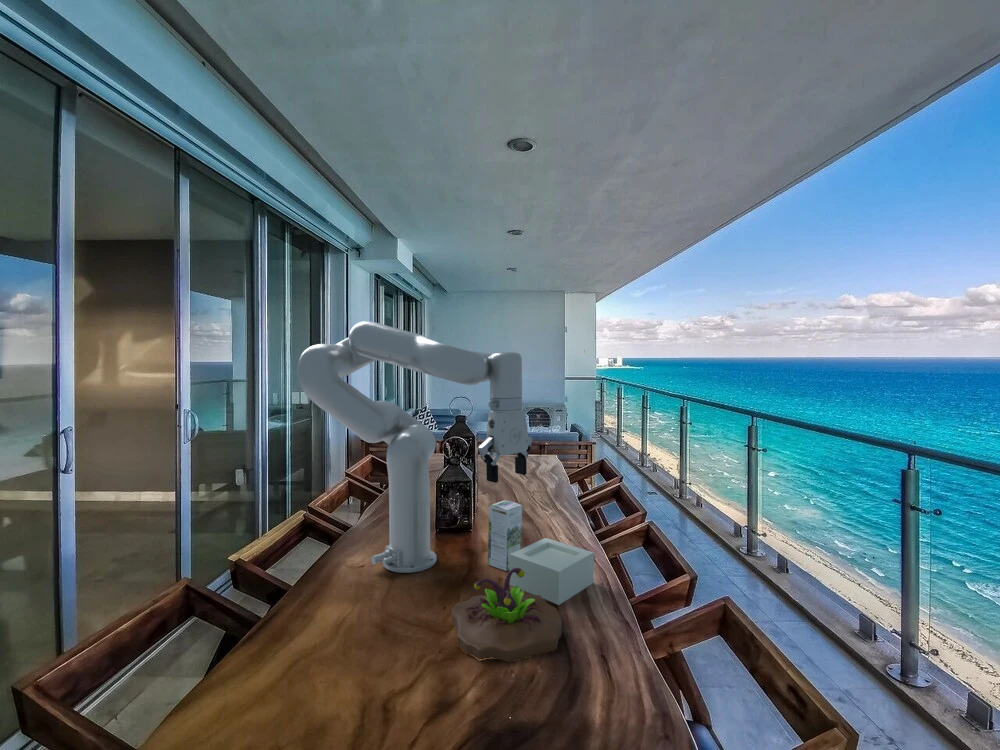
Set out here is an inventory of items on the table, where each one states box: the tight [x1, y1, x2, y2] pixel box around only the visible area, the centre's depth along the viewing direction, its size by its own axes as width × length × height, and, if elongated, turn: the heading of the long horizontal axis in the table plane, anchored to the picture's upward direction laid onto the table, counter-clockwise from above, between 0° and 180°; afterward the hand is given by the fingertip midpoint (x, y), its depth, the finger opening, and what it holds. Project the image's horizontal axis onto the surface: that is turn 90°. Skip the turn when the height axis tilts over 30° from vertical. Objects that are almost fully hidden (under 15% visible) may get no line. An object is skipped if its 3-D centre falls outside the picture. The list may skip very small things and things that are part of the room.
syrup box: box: [487, 499, 523, 572], centre depth 118 cm, size 6×6×14 cm
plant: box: [451, 568, 563, 662], centre depth 91 cm, size 20×20×11 cm
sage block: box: [508, 537, 595, 606], centre depth 109 cm, size 13×13×7 cm
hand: (507, 477), depth 118 cm, fingers open, 9 cm apart
